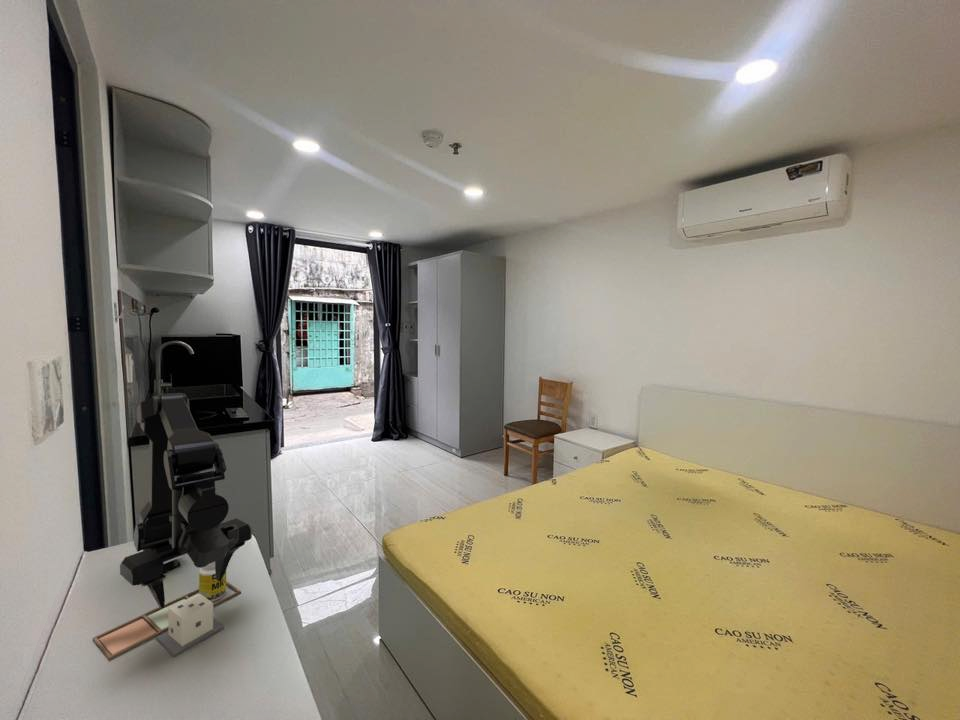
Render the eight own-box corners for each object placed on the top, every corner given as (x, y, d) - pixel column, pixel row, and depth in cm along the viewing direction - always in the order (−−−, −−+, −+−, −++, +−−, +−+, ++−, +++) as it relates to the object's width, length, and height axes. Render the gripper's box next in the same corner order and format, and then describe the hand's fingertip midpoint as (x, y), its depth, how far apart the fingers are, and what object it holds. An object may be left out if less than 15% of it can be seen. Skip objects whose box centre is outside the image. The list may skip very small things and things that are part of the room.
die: (168, 634, 73) (167, 607, 72) (198, 618, 77) (199, 592, 77) (182, 646, 70) (182, 619, 70) (213, 628, 75) (213, 602, 74)
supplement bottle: (212, 605, 81) (212, 565, 81) (192, 601, 82) (193, 561, 82) (231, 590, 86) (231, 552, 86) (212, 587, 87) (213, 549, 86)
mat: (155, 639, 72) (155, 637, 72) (205, 613, 79) (205, 611, 79) (173, 657, 68) (173, 654, 68) (223, 628, 75) (223, 626, 75)
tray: (92, 640, 71) (92, 637, 71) (221, 580, 89) (221, 578, 89) (109, 660, 67) (109, 658, 67) (240, 593, 85) (241, 591, 85)
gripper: (147, 545, 60) (147, 645, 61) (268, 503, 76) (267, 583, 77) (118, 524, 66) (119, 615, 67) (236, 489, 81) (236, 563, 82)
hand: (191, 593), depth 73 cm, fingers open, 9 cm apart
